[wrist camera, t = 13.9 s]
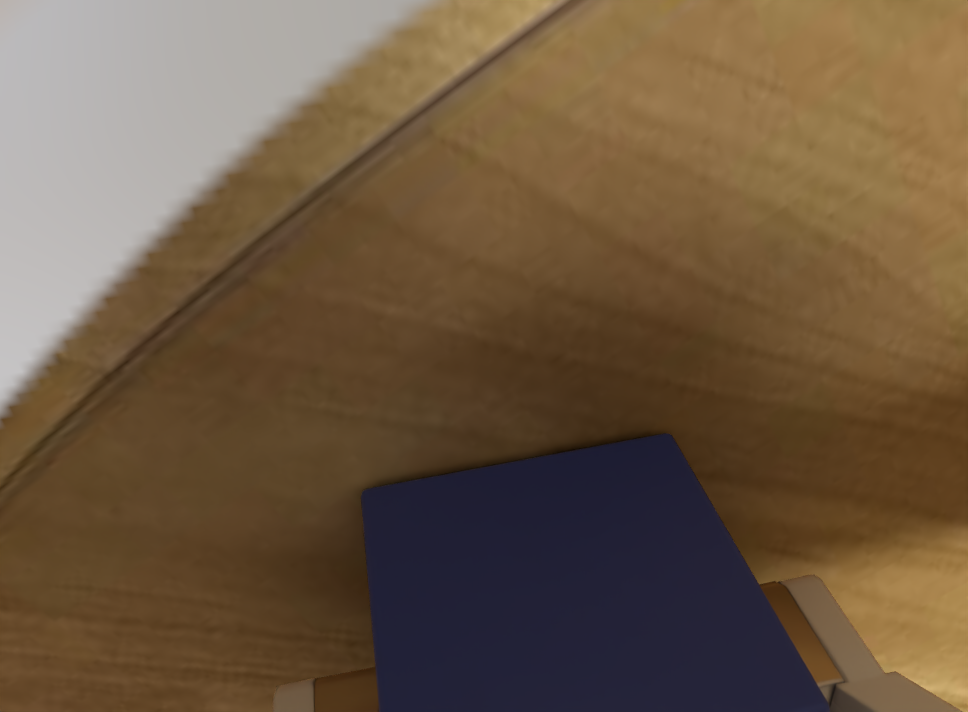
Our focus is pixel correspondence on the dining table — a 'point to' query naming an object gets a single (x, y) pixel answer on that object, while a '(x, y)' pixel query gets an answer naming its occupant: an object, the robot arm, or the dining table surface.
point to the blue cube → (571, 592)
